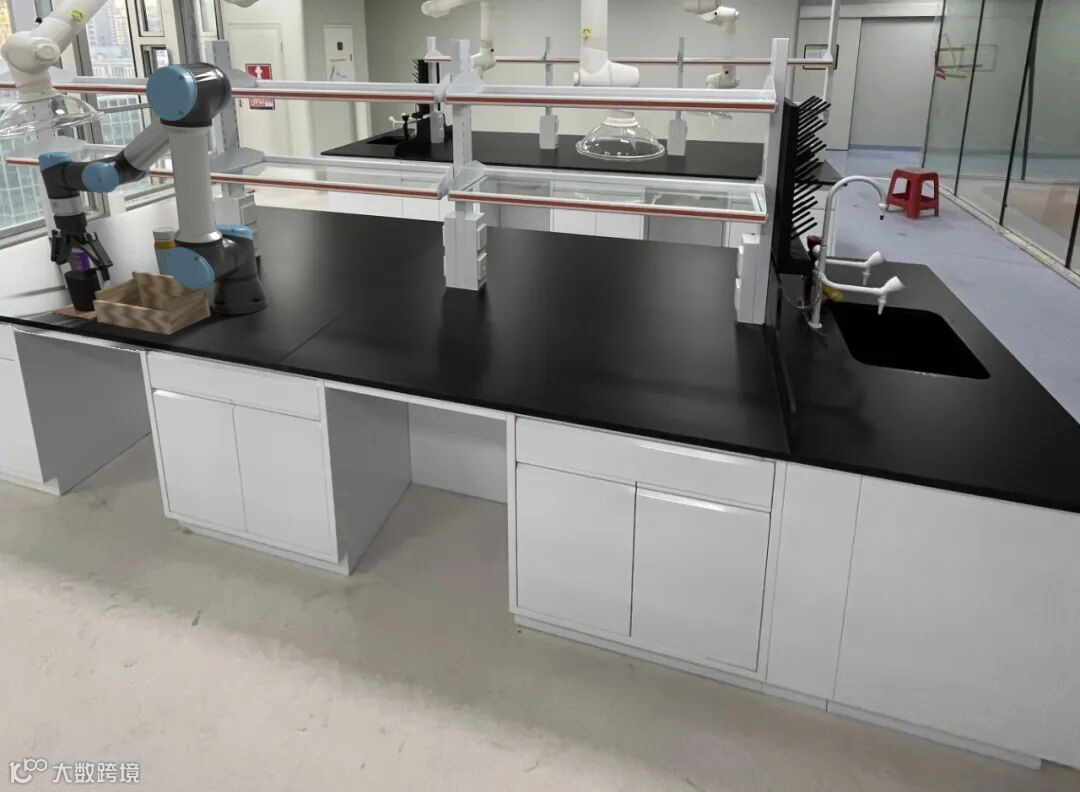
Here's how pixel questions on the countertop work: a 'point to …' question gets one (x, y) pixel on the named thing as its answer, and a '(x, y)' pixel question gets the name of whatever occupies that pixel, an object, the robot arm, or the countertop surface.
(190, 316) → the open wooden box
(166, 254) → the bottle
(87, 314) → the terracotta tile
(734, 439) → the countertop surface
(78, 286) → the pen holder
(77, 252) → the container
